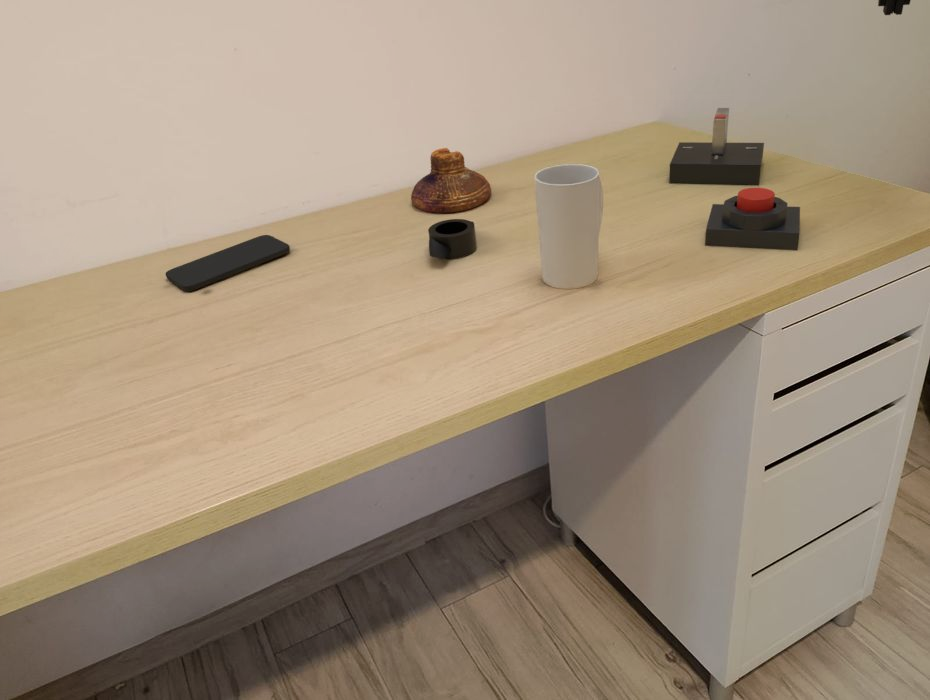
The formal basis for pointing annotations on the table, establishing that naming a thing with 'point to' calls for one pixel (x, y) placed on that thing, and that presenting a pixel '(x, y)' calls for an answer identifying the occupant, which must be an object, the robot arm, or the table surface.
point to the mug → (569, 224)
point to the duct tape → (452, 239)
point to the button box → (753, 226)
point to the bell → (450, 185)
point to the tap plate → (716, 164)
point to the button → (755, 200)
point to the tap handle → (720, 131)
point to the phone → (226, 262)
